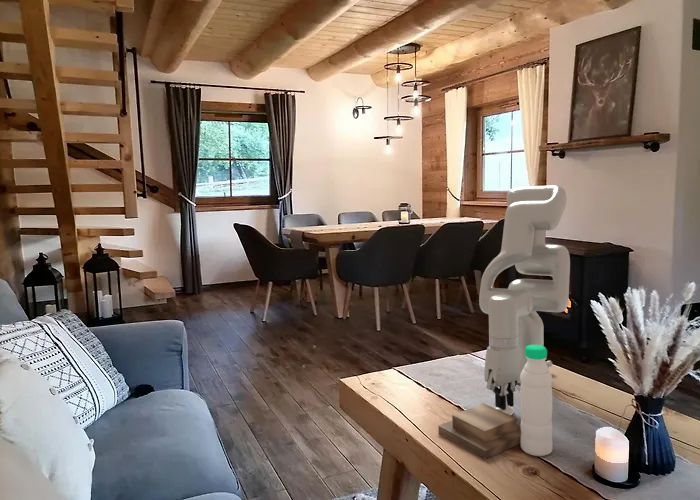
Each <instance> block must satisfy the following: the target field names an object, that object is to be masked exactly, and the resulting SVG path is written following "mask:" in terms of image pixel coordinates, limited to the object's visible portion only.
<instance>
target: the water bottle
mask: <svg viewBox="0 0 700 500" xmlns="http://www.w3.org/2000/svg"><path fill="white" fill-rule="evenodd" d="M525 355H526V358H527V363H526V364H525V366H524V369H523V370H522V372H521V374H520V381H521V384H520V391H519V392H520V395H519V396H520V399H519V401H520V403H519V404H520V408H519V409H520V419H521V420H520V425H521V443H520V448H521V449H522V451H523V452H525V453H526V454H527V455H531V456H534V457H545V455H546V456H548V455H550V454H551V453H552V452H553V437H552V436H553V423H552V421H553V420H552V419H553V389H552V388H553V387H552V384H553V375H552V373H551V372H550V370H549V367H547V365H546V363H545V362H546V360H547V357H548V349H547V348H546V347H545V346H544V345H543V346H541V345H528V346H527V347H526V348H525Z"/></svg>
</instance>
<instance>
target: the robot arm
mask: <svg viewBox="0 0 700 500" xmlns="http://www.w3.org/2000/svg"><path fill="white" fill-rule="evenodd" d="M567 200H568V199H567V192H566V191H565V188H564V187H562V186H560V185H532V186H531V185H527V186H518V187H513V188H510V189H509V190H508V191H507V193H506V205H507V207H506V211H505V215H504V225H503V233H502V241H501V248H500V252H499V253H498V255H497V256H496V257H494V258H493V259H492V260H491V261H490V263H488V265H487V267H486V268H485V270H484V272H483V274H482V277H481V281H480V289H479V297H478V298H479V300H478V302H479V303H478V304H479V309H480V310H481V311H482V312H483V313H484V314H486V315H488V346H487V347H486V351H485V359H484V374H483V375H484V381H485V382H486V386H485V388H486V390H489V391H491V392H493V394H494V395H495V396H494V397H495V398H494V400H495V401H494V402H495V408H496V407H498V408H500V409H502V410H505V409H506V397H507V404H508V406H509V407H511V408H513V407H514V405H515V403H514V399H515V398H514V397H515V396H514V393H515V392H516V386H517V385H518V384H519V385H521V381H520V374H521V372H522V370H523V369H524V366H525V364H526V363H527V358H526V355H525V348H526V347H527V346H528V345H541V346H544V323H543V320H542V318H541V316H539V314H538V312H549V313H562V312H565V311H566V309H567V307H568V305H569V294H570V275H571V258H570V256H571V255H570V253H569V250H568V248H567V247H565V246H564V245H560V244H546V231H554V230H555V229H557V227H558V226H559V223H560V222H561V218H562V215H563V213H564V212H565V209H566V205H567ZM512 266H515V269H516V271H517V272H518V273H519V274H522V275H529V276H545V277H547V276H550V277H552V280H551V279H536V278H535V279H533V278H518V279H515V280H513V281H511V282H510V283H509V285H508V287H507V288H504V287H503V288H502V287H501V288H499V287H498V288H497V287H494V283H495V280H496V278H497V277H498V275H499V274H501V273H502V272H503V271H504V270H506V269H508V268H510V267H512ZM545 363H546V365H547V367H548V368H550V367H552V366H553V361H552V360H547V361H546V360H545ZM507 383H508V386H507V389H506V391H508V394H506V396H505V395H504V384H507Z"/></svg>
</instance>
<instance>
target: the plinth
mask: <svg viewBox="0 0 700 500" xmlns="http://www.w3.org/2000/svg"><path fill="white" fill-rule="evenodd" d="M451 417H452V419H451V420H449V421H447V422H443V423H442V424H438V426H437V427H438V428H437V429H438V434H440V435H441V436H444V437H445V438H447V439H449V440H450V441H452V442H454V443H456V444H458V445H460V446H462V447H463V448H465V449H467V450H468V451H471V452H472V453H474V454H476V455H477V456H479V457H482V458H483V459H484V460H487V459H490V458H491V457H493V456H496V455H498V454H500V453H504V452H505V451H507V450H509V449H511V448H514V447H516V446H518V445H521V424H519V423H518V418H517V417H515V416H513V415H509V414H507V413H504V412H502V411H500V410H497V409H496V407H492V406H491V405H488V404H486V403H481V404H478V405H475V406H473V407H470V408H467V409H465V410H462V411H459V412H457V413H453V414H452V416H451Z"/></svg>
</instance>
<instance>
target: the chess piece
mask: <svg viewBox="0 0 700 500" xmlns="http://www.w3.org/2000/svg"><path fill="white" fill-rule="evenodd" d="M507 386H508V383H507V384H504V395H505V396H506V394H508V391H506V389H507ZM495 409H497V410H500V411H502V412H504V413H507V414H509V415H511V416H513V415H514V414H515V412H514V411H515V410H514V408H513V407H511V406H508V404H507V397H506V409H505V410H502V409H500V408H498V407H496V406H495ZM513 413H514V414H513ZM512 414H513V415H512Z"/></svg>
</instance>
